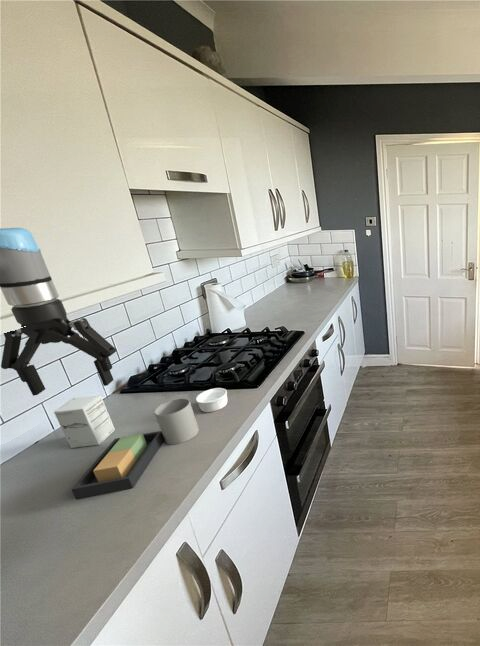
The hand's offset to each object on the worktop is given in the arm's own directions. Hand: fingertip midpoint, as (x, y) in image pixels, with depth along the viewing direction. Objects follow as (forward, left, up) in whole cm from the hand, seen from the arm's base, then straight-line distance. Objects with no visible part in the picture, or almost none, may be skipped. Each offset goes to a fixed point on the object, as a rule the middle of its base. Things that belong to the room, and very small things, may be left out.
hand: (74, 387), depth 82 cm
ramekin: (+18, +24, -25) cm, 39 cm away
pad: (+3, +3, -24) cm, 25 cm away
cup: (+13, +10, -25) cm, 30 cm away
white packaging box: (-12, +16, -25) cm, 32 cm away
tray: (+3, 0, -25) cm, 25 cm away
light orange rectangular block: (+3, -3, -24) cm, 25 cm away
